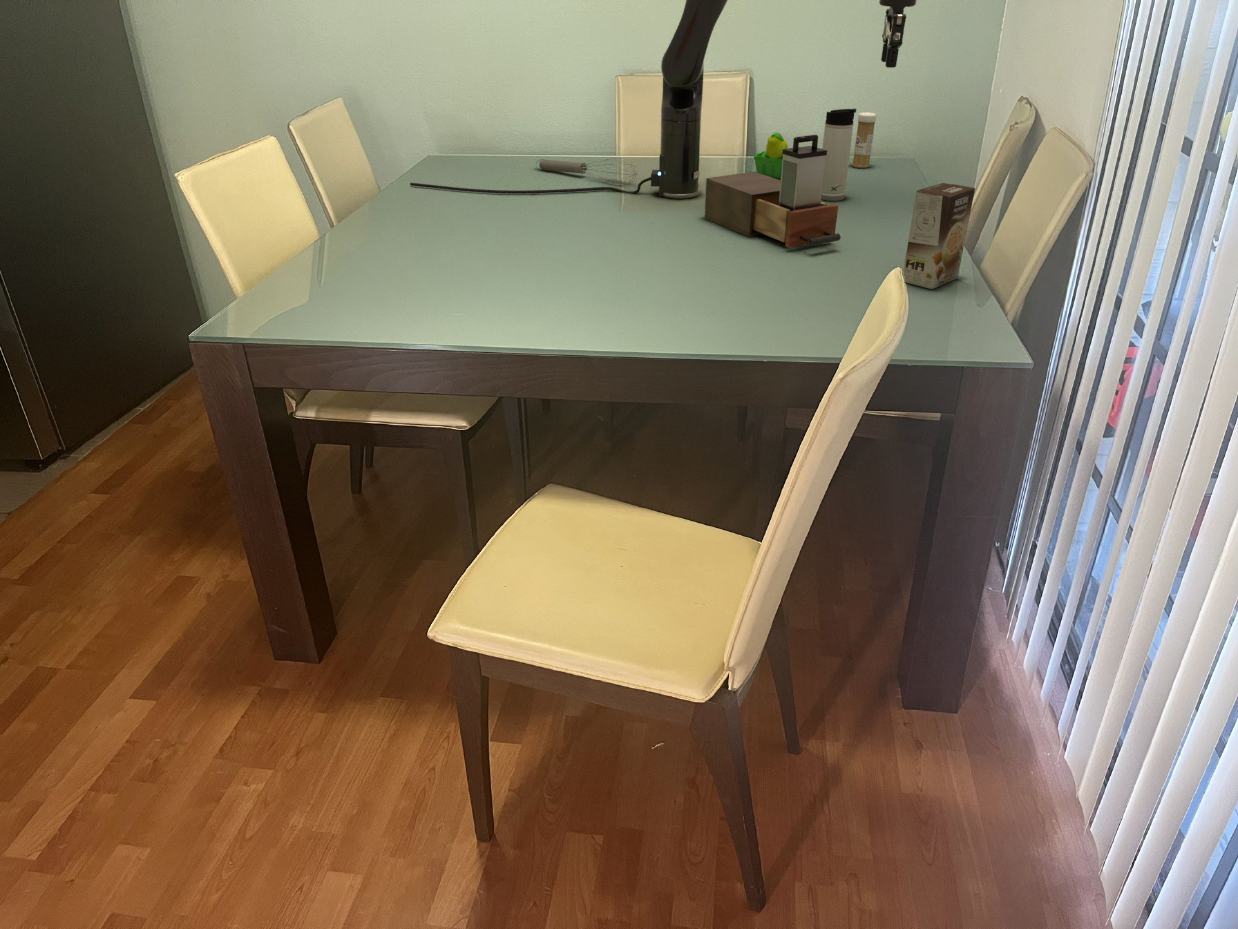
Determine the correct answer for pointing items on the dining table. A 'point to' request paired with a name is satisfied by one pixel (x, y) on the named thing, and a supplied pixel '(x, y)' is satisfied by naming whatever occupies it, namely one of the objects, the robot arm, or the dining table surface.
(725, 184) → the cabinet
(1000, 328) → the dining table surface
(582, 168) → the kitchen whisk
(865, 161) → the sprinkles bottle
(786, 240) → the drawer
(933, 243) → the coffee box
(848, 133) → the travel mug
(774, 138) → the fruit basket
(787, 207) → the grater
